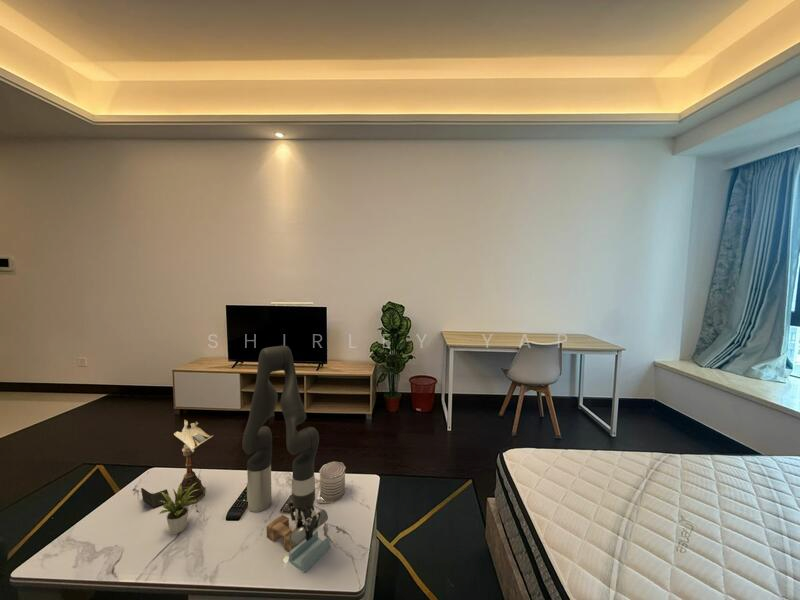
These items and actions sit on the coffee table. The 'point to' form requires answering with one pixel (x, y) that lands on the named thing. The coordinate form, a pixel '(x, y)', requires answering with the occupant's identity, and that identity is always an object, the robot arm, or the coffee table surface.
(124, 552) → the coffee table surface
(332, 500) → the can
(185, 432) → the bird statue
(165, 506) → the house plant
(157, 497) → the dark v-shaped block
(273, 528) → the brown h-shaped block
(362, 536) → the coffee table surface
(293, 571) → the coffee table surface
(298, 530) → the axle
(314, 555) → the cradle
